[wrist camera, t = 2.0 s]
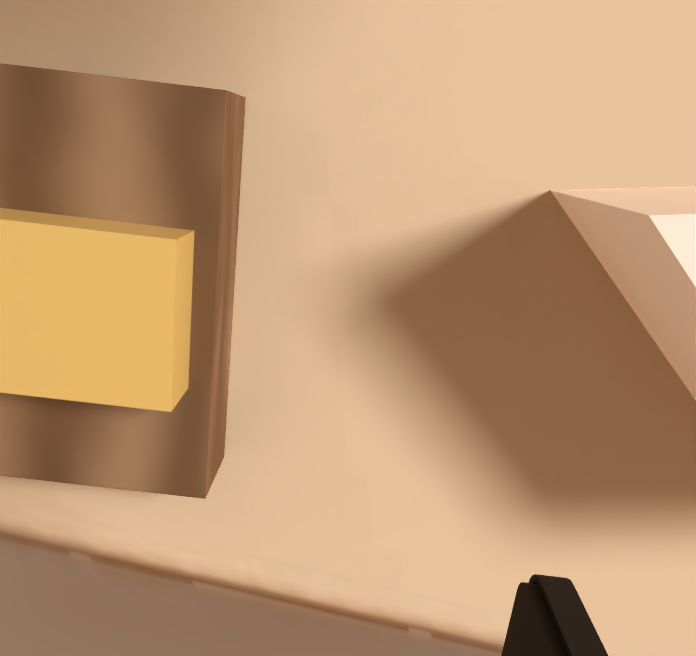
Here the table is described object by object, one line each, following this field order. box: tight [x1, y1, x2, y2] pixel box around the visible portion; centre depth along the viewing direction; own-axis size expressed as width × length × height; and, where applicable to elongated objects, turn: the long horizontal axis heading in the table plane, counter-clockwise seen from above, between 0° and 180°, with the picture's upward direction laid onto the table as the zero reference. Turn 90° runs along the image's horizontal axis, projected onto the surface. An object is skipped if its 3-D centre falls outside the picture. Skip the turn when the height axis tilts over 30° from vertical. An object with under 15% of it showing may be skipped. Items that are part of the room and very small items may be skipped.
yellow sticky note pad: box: [0, 208, 194, 412], centre depth 25 cm, size 10×7×2 cm
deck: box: [0, 64, 245, 499], centre depth 28 cm, size 14×18×4 cm
